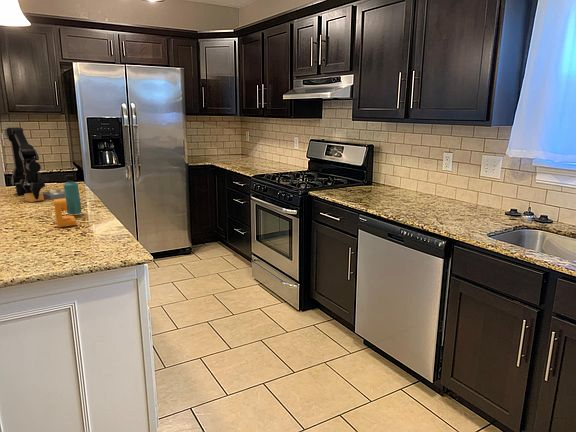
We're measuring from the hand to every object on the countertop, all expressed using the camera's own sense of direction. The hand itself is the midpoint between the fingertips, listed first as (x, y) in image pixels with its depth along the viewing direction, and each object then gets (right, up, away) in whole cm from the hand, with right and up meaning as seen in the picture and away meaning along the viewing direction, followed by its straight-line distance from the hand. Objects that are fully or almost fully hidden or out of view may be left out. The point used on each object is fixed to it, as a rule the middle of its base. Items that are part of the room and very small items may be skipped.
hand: (34, 198), depth 238 cm
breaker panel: (+6, +1, +12) cm, 13 cm away
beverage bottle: (+39, -10, -32) cm, 51 cm away
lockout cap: (0, -1, 0) cm, 1 cm away
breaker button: (+4, +1, +11) cm, 11 cm away
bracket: (+43, -14, -47) cm, 65 cm away
